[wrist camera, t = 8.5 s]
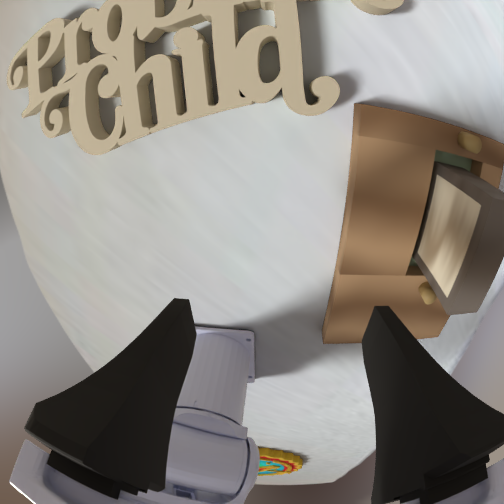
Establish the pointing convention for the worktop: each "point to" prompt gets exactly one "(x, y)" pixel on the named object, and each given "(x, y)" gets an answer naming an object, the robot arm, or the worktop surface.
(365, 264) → the board
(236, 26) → the decorative sign
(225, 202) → the worktop surface
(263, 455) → the decorative plaque
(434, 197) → the metal block
